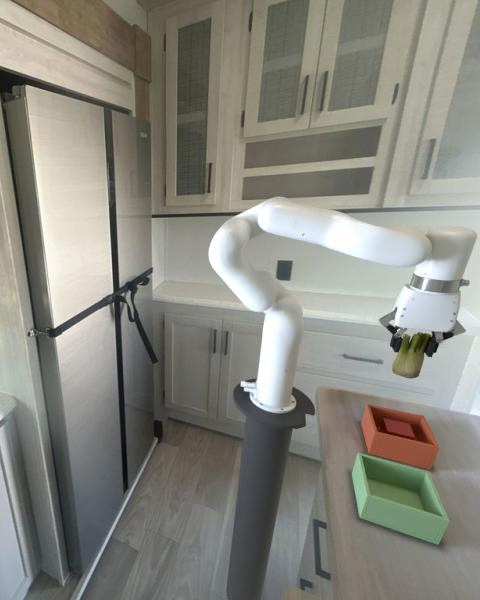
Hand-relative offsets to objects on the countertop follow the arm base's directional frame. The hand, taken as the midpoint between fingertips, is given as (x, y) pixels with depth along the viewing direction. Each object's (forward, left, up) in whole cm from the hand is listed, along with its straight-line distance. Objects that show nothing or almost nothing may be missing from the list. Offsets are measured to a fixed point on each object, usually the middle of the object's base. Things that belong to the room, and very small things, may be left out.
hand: (411, 351), depth 81 cm
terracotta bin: (0, -8, -23) cm, 24 cm away
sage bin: (-4, -28, -23) cm, 36 cm away
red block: (0, -8, -22) cm, 24 cm away
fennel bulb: (0, 0, -7) cm, 7 cm away
